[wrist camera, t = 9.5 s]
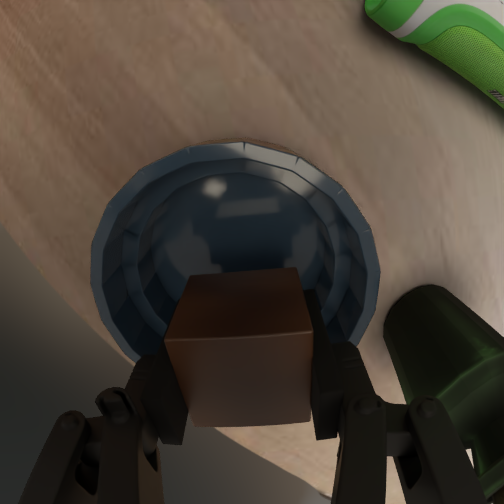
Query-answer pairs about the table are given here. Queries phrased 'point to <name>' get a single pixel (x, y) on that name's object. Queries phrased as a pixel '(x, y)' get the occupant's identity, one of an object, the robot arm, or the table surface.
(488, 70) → the speaker
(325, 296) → the blue round bin
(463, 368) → the potion bottle
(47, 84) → the table surface
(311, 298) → the robot arm
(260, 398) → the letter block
